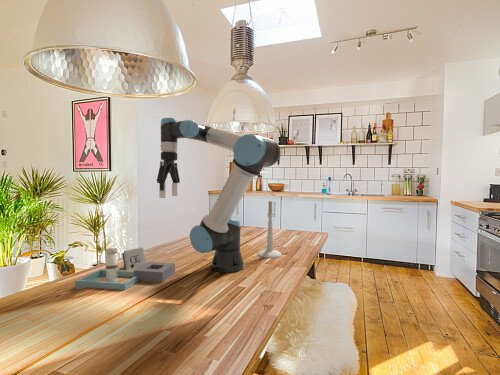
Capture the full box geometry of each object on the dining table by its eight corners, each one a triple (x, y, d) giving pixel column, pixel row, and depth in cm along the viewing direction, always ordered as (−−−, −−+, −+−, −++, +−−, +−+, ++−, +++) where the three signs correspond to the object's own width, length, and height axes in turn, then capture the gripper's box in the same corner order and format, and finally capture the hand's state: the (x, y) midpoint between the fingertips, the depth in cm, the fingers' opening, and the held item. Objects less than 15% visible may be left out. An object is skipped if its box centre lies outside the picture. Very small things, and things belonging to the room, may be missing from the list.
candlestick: (279, 252, 163) (280, 199, 163) (283, 258, 151) (283, 201, 150) (257, 252, 163) (258, 199, 162) (258, 258, 150) (259, 201, 149)
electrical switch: (127, 272, 125) (126, 251, 126) (121, 271, 129) (120, 250, 129) (146, 267, 133) (145, 247, 133) (140, 266, 136) (139, 246, 136)
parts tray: (144, 279, 117) (144, 271, 117) (125, 292, 103) (125, 283, 103) (100, 276, 120) (100, 269, 120) (75, 289, 106) (75, 280, 106)
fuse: (119, 280, 113) (119, 248, 113) (113, 284, 109) (113, 250, 109) (110, 280, 114) (110, 247, 113) (103, 283, 110) (103, 250, 109)
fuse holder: (175, 274, 123) (175, 263, 123) (162, 285, 111) (162, 272, 111) (148, 273, 124) (148, 261, 124) (133, 283, 112) (133, 270, 112)
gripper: (172, 154, 147) (172, 195, 148) (148, 149, 122) (148, 198, 123) (186, 154, 146) (186, 195, 146) (165, 148, 121) (165, 198, 122)
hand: (169, 197), depth 135 cm, fingers open, 13 cm apart
